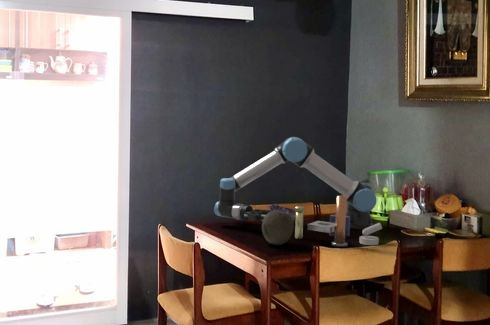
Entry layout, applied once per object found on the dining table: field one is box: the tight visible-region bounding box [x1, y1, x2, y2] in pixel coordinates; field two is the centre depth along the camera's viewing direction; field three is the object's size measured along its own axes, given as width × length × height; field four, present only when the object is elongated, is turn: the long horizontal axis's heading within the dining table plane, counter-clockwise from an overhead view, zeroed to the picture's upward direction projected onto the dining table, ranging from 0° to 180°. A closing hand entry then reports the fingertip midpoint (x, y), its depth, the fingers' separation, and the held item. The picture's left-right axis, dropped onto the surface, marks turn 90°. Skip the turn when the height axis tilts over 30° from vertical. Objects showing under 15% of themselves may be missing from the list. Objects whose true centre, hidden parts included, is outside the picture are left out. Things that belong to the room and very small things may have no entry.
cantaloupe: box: [261, 211, 295, 247], centre depth 262 cm, size 14×14×15 cm
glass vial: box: [294, 205, 305, 240], centre depth 277 cm, size 4×4×14 cm
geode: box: [267, 202, 296, 223], centre depth 319 cm, size 20×12×10 cm, turn 35°
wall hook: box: [358, 222, 383, 246], centre depth 271 cm, size 9×10×10 cm
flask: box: [328, 213, 351, 238], centre depth 285 cm, size 10×3×12 cm, turn 74°
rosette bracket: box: [306, 194, 348, 248], centre depth 267 cm, size 17×11×22 cm, turn 58°
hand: (280, 217), depth 283 cm, fingers open, 13 cm apart
